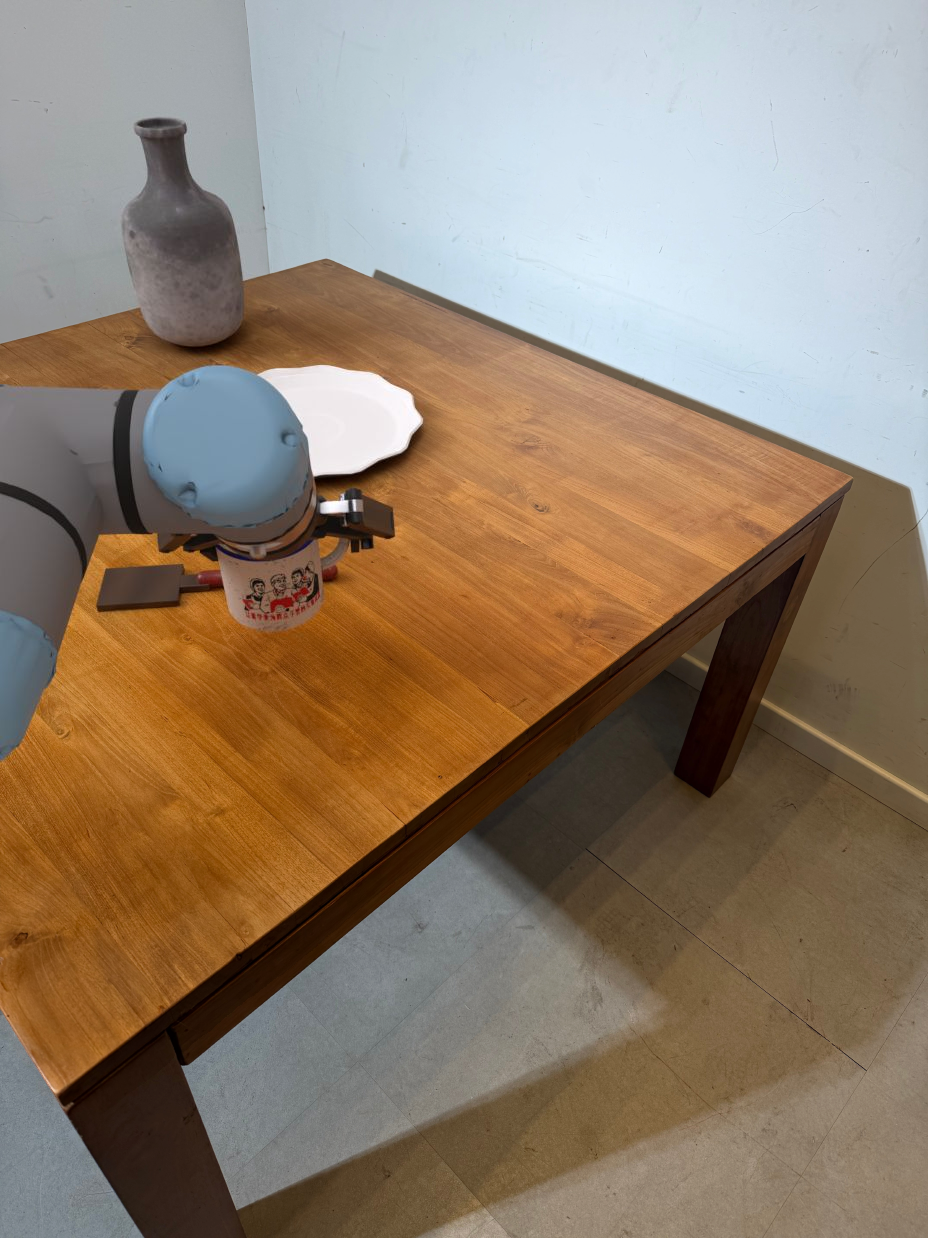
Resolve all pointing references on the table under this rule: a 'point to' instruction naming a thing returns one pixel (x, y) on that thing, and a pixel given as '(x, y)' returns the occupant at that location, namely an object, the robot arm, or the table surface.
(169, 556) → the table surface
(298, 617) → the teacup with lid
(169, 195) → the vase
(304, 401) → the plate
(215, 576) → the spatula
